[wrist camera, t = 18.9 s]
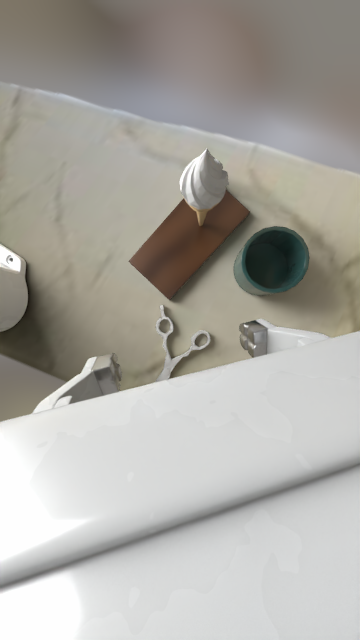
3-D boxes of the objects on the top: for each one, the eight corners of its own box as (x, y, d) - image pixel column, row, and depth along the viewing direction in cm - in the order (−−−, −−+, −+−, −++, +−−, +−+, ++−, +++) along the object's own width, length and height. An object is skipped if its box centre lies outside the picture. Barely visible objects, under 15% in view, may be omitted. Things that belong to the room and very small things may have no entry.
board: (130, 263, 34) (128, 261, 33) (206, 176, 32) (206, 171, 31) (169, 300, 34) (169, 299, 33) (248, 215, 32) (250, 211, 31)
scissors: (215, 326, 33) (174, 427, 34) (215, 325, 34) (175, 424, 35) (160, 304, 33) (121, 404, 35) (161, 304, 34) (123, 402, 35)
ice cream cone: (216, 240, 32) (237, 178, 17) (183, 241, 32) (175, 181, 17) (217, 207, 31) (239, 113, 16) (184, 208, 32) (176, 117, 17)
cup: (222, 270, 33) (227, 262, 28) (261, 229, 32) (274, 212, 27) (261, 307, 33) (275, 306, 27) (301, 266, 32) (323, 257, 26)
